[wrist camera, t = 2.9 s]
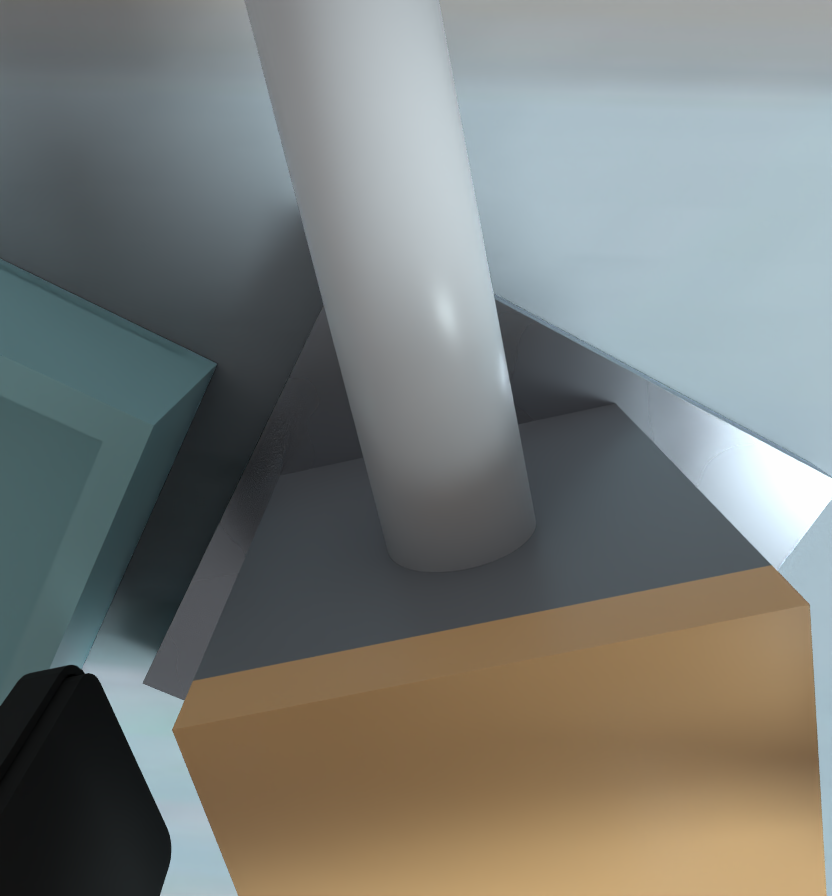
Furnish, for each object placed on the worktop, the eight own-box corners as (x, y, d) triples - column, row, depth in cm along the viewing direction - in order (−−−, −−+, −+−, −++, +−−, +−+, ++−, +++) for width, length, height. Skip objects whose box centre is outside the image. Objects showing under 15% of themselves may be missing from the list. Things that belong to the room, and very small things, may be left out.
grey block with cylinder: (655, 688, 14) (835, 1048, 8) (361, 745, 14) (332, 1130, 9) (557, -13, 10) (760, -270, 4) (161, 85, 11) (-133, -35, 5)
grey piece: (555, 814, 16) (631, 1126, 11) (158, 651, 15) (19, 918, 9) (812, 463, 14) (1075, 644, 8) (363, 224, 12) (332, 255, 7)
